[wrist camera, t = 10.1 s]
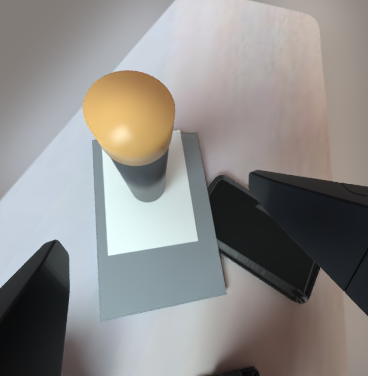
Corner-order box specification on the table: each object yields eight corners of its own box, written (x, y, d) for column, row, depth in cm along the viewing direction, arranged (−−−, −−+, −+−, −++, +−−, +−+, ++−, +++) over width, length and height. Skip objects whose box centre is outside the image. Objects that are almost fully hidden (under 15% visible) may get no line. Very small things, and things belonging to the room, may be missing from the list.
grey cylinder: (171, 192, 21) (191, 124, 8) (140, 210, 20) (109, 163, 7) (154, 163, 21) (148, 59, 9) (123, 179, 20) (67, 89, 8)
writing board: (223, 291, 20) (227, 294, 19) (102, 317, 18) (100, 321, 17) (194, 132, 24) (196, 128, 23) (94, 139, 22) (91, 135, 21)
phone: (305, 308, 20) (184, 228, 20) (297, 304, 21) (183, 229, 21) (329, 241, 22) (219, 170, 22) (321, 241, 23) (217, 173, 23)
